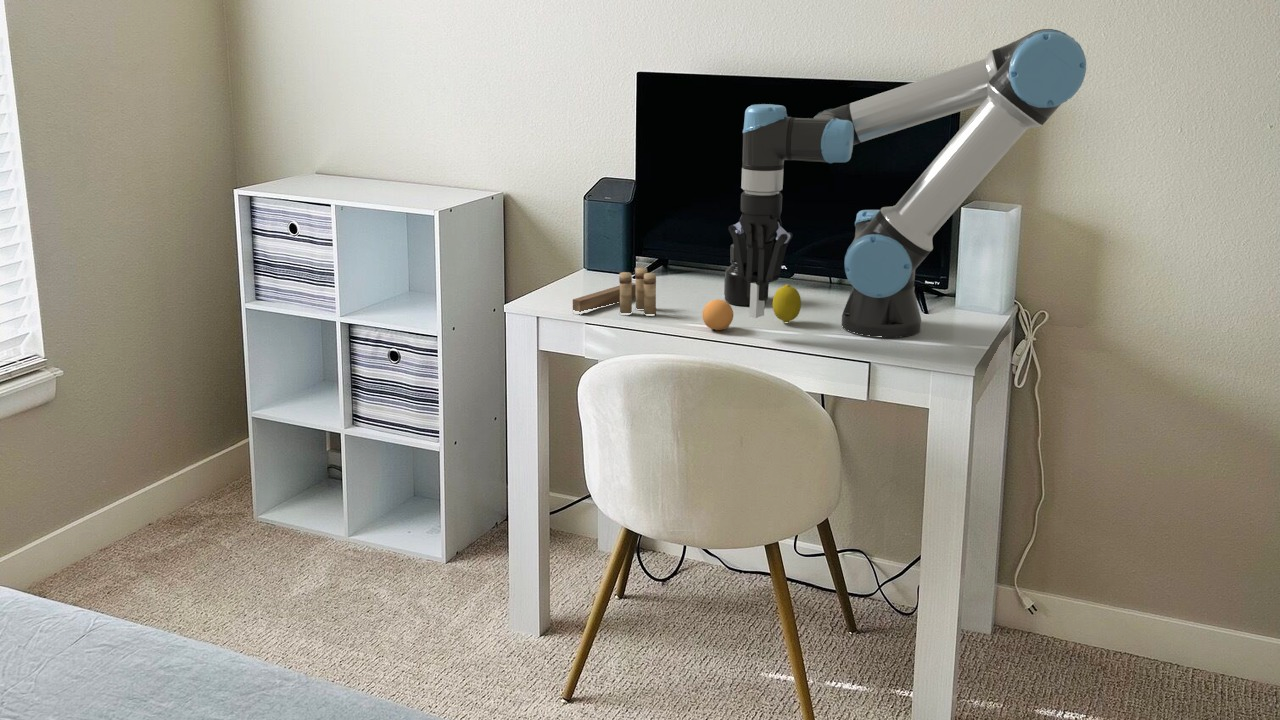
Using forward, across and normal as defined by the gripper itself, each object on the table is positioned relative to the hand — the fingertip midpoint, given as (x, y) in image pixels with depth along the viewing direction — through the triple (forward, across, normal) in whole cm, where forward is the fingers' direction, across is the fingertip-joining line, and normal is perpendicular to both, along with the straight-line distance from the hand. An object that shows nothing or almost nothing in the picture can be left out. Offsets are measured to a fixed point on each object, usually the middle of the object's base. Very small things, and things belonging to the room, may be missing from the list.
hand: (756, 315), depth 220 cm
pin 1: (+5, +30, +2) cm, 31 cm away
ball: (+2, +9, 0) cm, 9 cm away
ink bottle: (+5, +17, -21) cm, 28 cm away
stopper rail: (+5, +38, 0) cm, 38 cm away
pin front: (+5, +26, 0) cm, 27 cm away
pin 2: (+5, +30, -3) cm, 31 cm away
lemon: (+5, +1, -12) cm, 13 cm away
